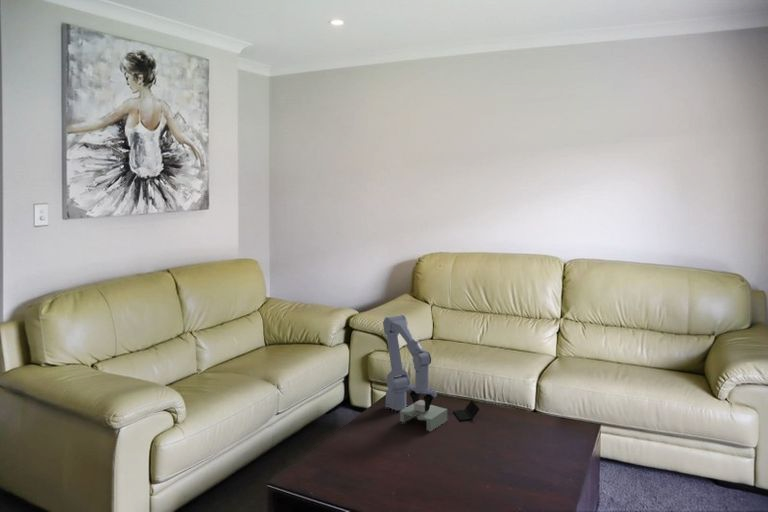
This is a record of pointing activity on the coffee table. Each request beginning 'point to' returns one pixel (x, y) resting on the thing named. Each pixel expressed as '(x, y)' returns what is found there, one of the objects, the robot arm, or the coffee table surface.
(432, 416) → the slot bracket
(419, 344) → the robot arm
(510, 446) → the coffee table surface
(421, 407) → the peg
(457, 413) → the handheld gaming console
